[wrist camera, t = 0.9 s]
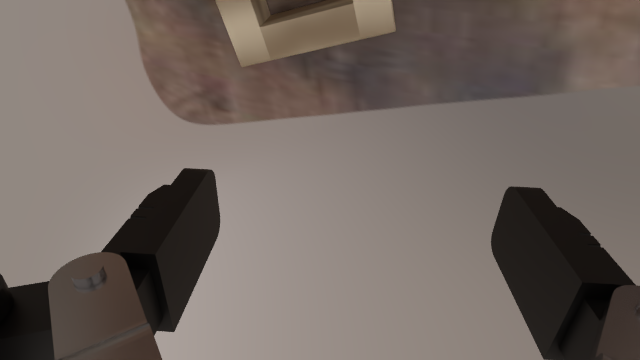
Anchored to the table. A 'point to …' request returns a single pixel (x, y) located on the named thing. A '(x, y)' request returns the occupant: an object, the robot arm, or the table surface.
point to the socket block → (301, 26)
